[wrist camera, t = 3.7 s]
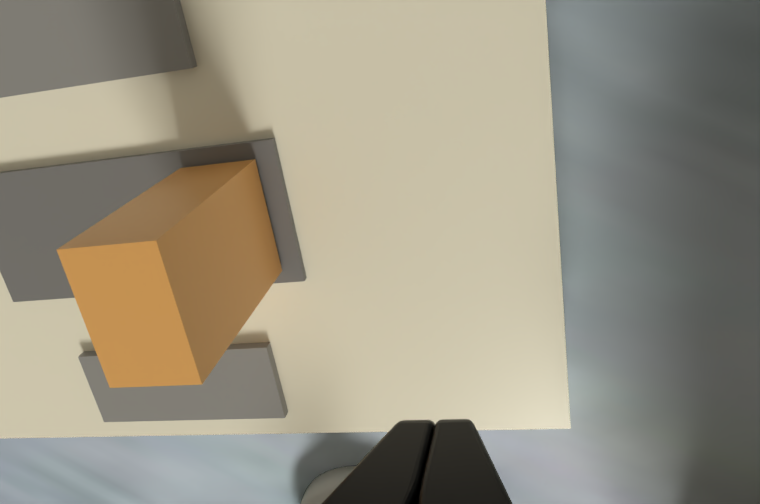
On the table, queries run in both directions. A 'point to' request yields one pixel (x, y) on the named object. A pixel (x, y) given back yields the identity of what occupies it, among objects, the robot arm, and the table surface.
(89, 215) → the breaker board
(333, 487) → the cable post
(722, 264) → the table surface
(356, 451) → the table surface
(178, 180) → the switch
